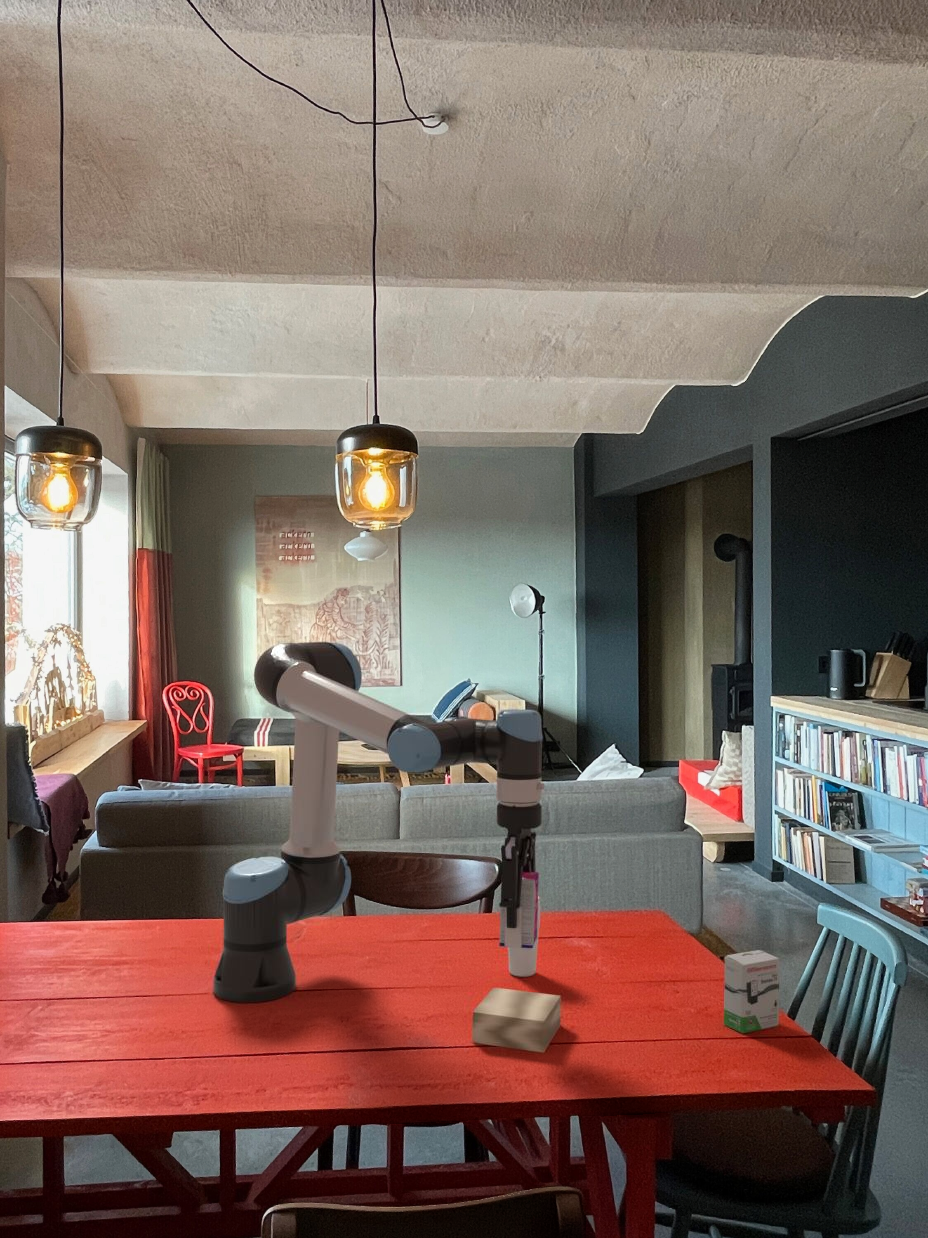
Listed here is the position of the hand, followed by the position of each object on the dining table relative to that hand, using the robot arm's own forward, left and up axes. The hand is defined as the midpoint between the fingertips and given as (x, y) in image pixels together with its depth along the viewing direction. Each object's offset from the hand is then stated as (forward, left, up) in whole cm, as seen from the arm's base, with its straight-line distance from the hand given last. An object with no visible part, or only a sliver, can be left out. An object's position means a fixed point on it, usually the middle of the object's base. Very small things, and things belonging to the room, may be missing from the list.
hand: (518, 940), depth 174 cm
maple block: (0, 0, -16) cm, 16 cm away
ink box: (+37, +17, -16) cm, 44 cm away
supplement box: (0, 0, -1) cm, 1 cm away
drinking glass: (-7, +29, -16) cm, 34 cm away
